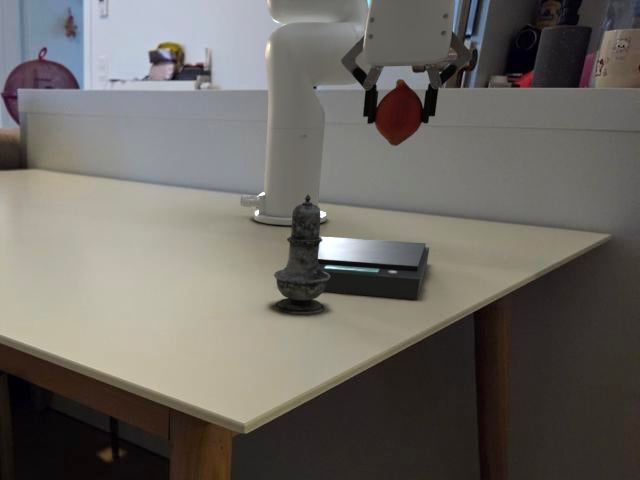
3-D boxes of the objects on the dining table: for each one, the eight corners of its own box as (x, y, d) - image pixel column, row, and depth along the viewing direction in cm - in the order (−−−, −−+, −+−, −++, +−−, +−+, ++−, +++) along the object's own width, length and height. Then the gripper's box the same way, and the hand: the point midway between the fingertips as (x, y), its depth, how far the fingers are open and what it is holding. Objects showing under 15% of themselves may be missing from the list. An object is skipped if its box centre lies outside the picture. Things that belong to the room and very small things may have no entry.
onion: (412, 144, 97) (420, 79, 94) (424, 147, 92) (433, 78, 89) (367, 144, 97) (373, 80, 94) (377, 147, 92) (384, 79, 89)
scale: (283, 287, 87) (284, 263, 86) (312, 256, 102) (314, 235, 101) (417, 300, 81) (420, 273, 80) (426, 265, 96) (430, 242, 95)
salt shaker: (265, 300, 81) (272, 191, 77) (317, 298, 82) (326, 189, 77) (280, 316, 76) (288, 199, 71) (335, 314, 76) (346, 197, 72)
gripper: (494, -39, 87) (470, 121, 93) (345, -28, 93) (333, 122, 100) (497, -49, 80) (471, 124, 87) (337, -36, 87) (324, 124, 93)
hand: (397, 121), depth 93 cm, fingers closed on onion, 5 cm apart
